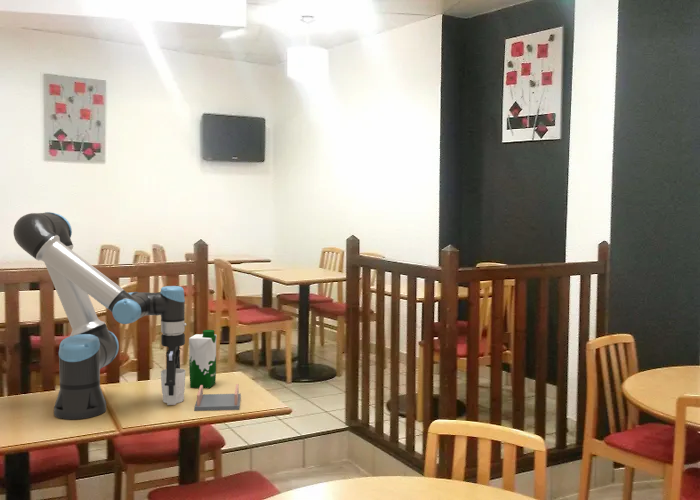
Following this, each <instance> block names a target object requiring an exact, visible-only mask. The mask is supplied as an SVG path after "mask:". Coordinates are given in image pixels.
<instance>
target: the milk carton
mask: <svg viewBox="0 0 700 500" xmlns="http://www.w3.org/2000/svg"><path fill="white" fill-rule="evenodd" d="M217 337H218V336H217V334H215V330H213V329H204V330H202V333H201V334H198V333H196V334H194V335H192V336H191V337H188V344H189V345H188V346H189V347H188V348H189V353H188V354H189V357H188V358H189V360H188V363H189V364H188V365H189V387H190V389H199V388H200V385H203V389H211V388H212V387H213V386H214V385H215V384H216V379H217Z"/></svg>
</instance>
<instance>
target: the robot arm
mask: <svg viewBox="0 0 700 500" xmlns="http://www.w3.org/2000/svg"><path fill="white" fill-rule="evenodd" d="M72 233H73V230H72V226H71V224H70V222H69V220H68V219H67V218H66V217H64V216H63V215H61V214H59V213H55V212H51V211H49V212H48V211H47V212H46V211H45V212H32V213H28V214H24V215H23V216H20V217H19V218H18V220H17V221H16V223H15V224H14V227H13V237H14V240H15V243H16V244H18V246H19V247H20V248H21V249H22V250H24V251H25V252H26V253H27V254H29V255H30V256H31V257H32V258H34V259H35V260H36V261H41V262H44V265H45V267H46V270H47V272H48V275H49V277H50V280H51V282H52V284H53V287H54V288H55V291H56V294H57V296H58V298H59V300H60V302H61V306H62V308H63V310H64V312H65V315H66V317H67V320H68V322H69V325H70V327H71V329H72V330H71V333H70V335H69V336H67V337H65V338H64V339H62V340H61V342H60V344H59V346H58V347H59V349H58V361H59V362H58V363H59V364H58V365H59V367H58V368H59V369H58V370H59V391H58V395H57V397H56V400H55V403H54V405H53V406H54V408H53V415H54V417H56V418H58V419H62V418H63V419H64V420H80V419H82V420H83V419H89V418H93V417H97V416H99V415H102V414H104V413H105V412H106V411H107V401H106V399H105V397H104V392H103V391H102V388H101V375H100V374H101V369H102V368H104V367H107V366H108V365H109V364H111V363H112V362H113V360H114V359H116V357H117V355H118V353H119V350H120V349H119V348H120V344H119V340H118V337H117V336H116V335H115V333H114V332H113V331H110V330H109V328H108V326H107V324H106V322H105V321H103V320H101V319H99V317H98V315H97V312H96V310H95V307H94V305H93V303H92V301H91V298H93V299H94V300H95V301H97V302H98V303H99V304H100V305H102V306H103V307H105V308H106V309H108V310H109V311H110V312H111V313H112V316H113V318H114V320H115V321H116V322H118V323H119V324H121V325H128V324H133V323H135V322H136V321H138V320H139V319H141V318H143V317H145V316H160V317H161V319H160V332H161V333H162V334H161V336H160V337H161V340H160V341H161V343H160V345H161V346H163V347H167V348H168V349H167V351H166V355H165V356H166V369H167V372H166V383H165V386H167V403H166V405H167V406H176V405H177V403H176V385H175V377H176V368H179V369H181V355H180V354H181V350H180V349H181V348H180V347H181V346H184V345H185V344H186V334H185V333H184V332H185V327H186V326H187V323H186V322H185V318H186V317H185V315H186V314H185V310H186V309H185V303H186V300H185V290H184V288H183V286H180V285H179V286H178V285H166V286H162V287H161V288H160V292H145V291H144V292H143V291H142V292H138V291H134V292H133V291H132V292H127V291H126V290H125V289H124V288H122V286H120V285H119V284H117V283H116V282H114V281H113V280H111V278H109V277H108V276H106V275H105V274H104V273H102V272H101V271H100V270H98V269H97V268H96V267H95V266H93V265H92V264H90V263H89V262H88V261H87V260H85V259H84V258H83V257H82V256H80V255H79V254H78V253H76V252H75V251H74V250H73V248H74V244H73V241H72V239H71V238H72ZM90 297H91V298H90ZM63 419H62V420H63Z"/></svg>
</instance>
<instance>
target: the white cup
mask: <svg viewBox="0 0 700 500" xmlns="http://www.w3.org/2000/svg"><path fill="white" fill-rule="evenodd" d="M166 372H167V368H165V369H163V370H161V371H160V378H161V379H160V380H161V381H160V382H161V383H160V384H161V394H162V402H163V403H165V404H167V386H165V383H166ZM175 385H176V404H179V403H182V402H183V401H185V389H186V388H185V387H186V369H185V368H180V369H179V368H176V377H175Z"/></svg>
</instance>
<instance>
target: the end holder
mask: <svg viewBox="0 0 700 500" xmlns="http://www.w3.org/2000/svg"><path fill="white" fill-rule="evenodd" d="M239 388H240V387H239V383H238V384H237V383H236V384H235V389H234V393H210V394H209V393H207V394H206V393H205V394H204V388H203V385H200V388H198V390H197V393H196V401H195V404H194V406H193V407H194V412H195V411H197V412H198V411H200V412H202V411H203V412H205V411H235V410H236V411H239V410H240V406H241V397H242V396H241V393H239Z"/></svg>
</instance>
